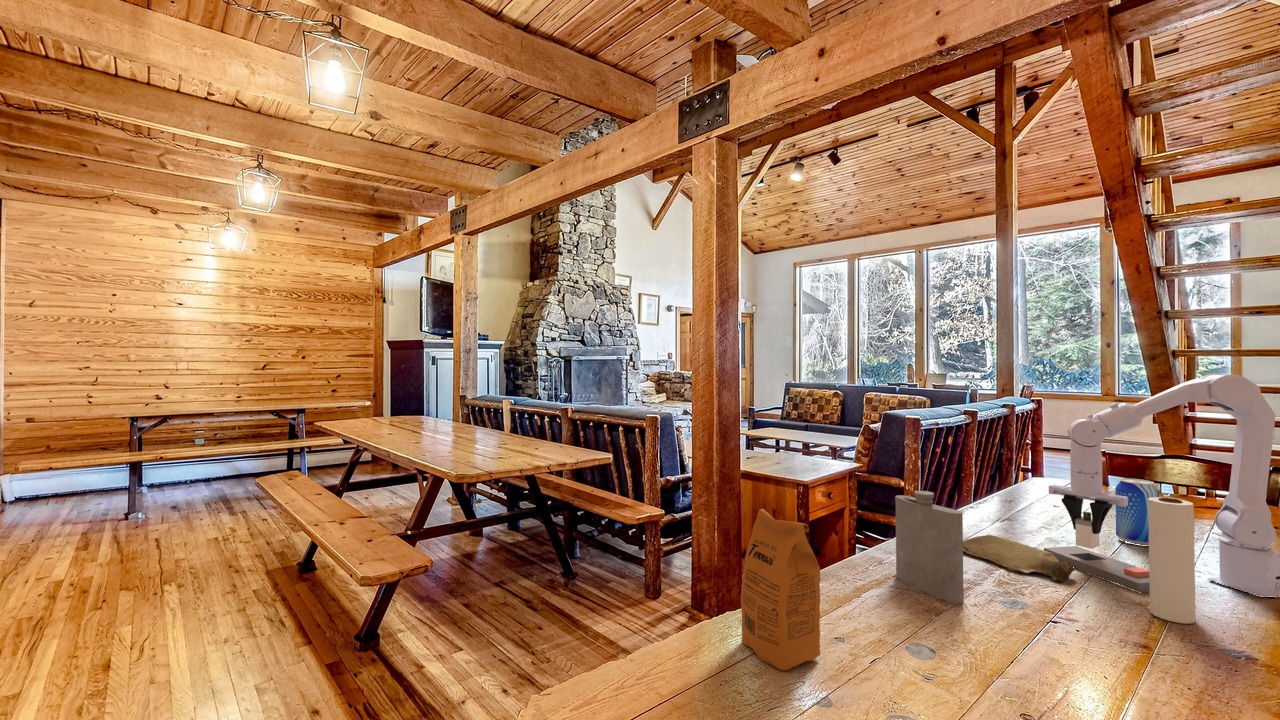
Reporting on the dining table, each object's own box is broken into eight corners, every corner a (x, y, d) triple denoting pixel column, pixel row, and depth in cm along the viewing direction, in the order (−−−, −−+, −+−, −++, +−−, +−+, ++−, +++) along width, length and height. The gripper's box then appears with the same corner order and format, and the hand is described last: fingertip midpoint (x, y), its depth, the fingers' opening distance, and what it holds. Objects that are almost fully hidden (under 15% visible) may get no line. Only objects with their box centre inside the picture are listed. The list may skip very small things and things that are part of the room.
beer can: (1169, 548, 139) (1168, 484, 139) (1136, 548, 139) (1135, 484, 139) (1138, 537, 147) (1137, 477, 148) (1107, 537, 147) (1106, 477, 147)
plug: (1099, 545, 127) (1098, 512, 127) (1091, 548, 125) (1090, 515, 125) (1083, 542, 130) (1083, 509, 130) (1075, 545, 128) (1075, 512, 128)
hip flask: (967, 602, 108) (966, 499, 108) (951, 605, 106) (950, 501, 107) (904, 573, 123) (903, 483, 123) (889, 576, 121) (888, 484, 122)
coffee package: (779, 628, 98) (778, 503, 98) (830, 662, 86) (828, 521, 86) (731, 639, 94) (730, 509, 94) (777, 677, 82) (776, 528, 82)
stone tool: (1089, 576, 119) (982, 543, 143) (1087, 557, 119) (980, 527, 143) (1053, 591, 115) (949, 555, 139) (1051, 572, 115) (947, 539, 139)
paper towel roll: (1180, 626, 97) (1178, 504, 97) (1141, 612, 103) (1139, 497, 103) (1209, 621, 99) (1206, 502, 99) (1168, 607, 105) (1166, 494, 105)
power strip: (1176, 590, 113) (1176, 575, 113) (1138, 593, 112) (1138, 578, 112) (1076, 554, 135) (1076, 541, 135) (1043, 556, 133) (1043, 543, 133)
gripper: (1133, 475, 123) (1134, 536, 123) (1058, 465, 136) (1059, 521, 136) (1119, 478, 120) (1120, 541, 119) (1043, 468, 132) (1044, 525, 132)
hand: (1087, 531), depth 127 cm, fingers closed on plug, 3 cm apart
